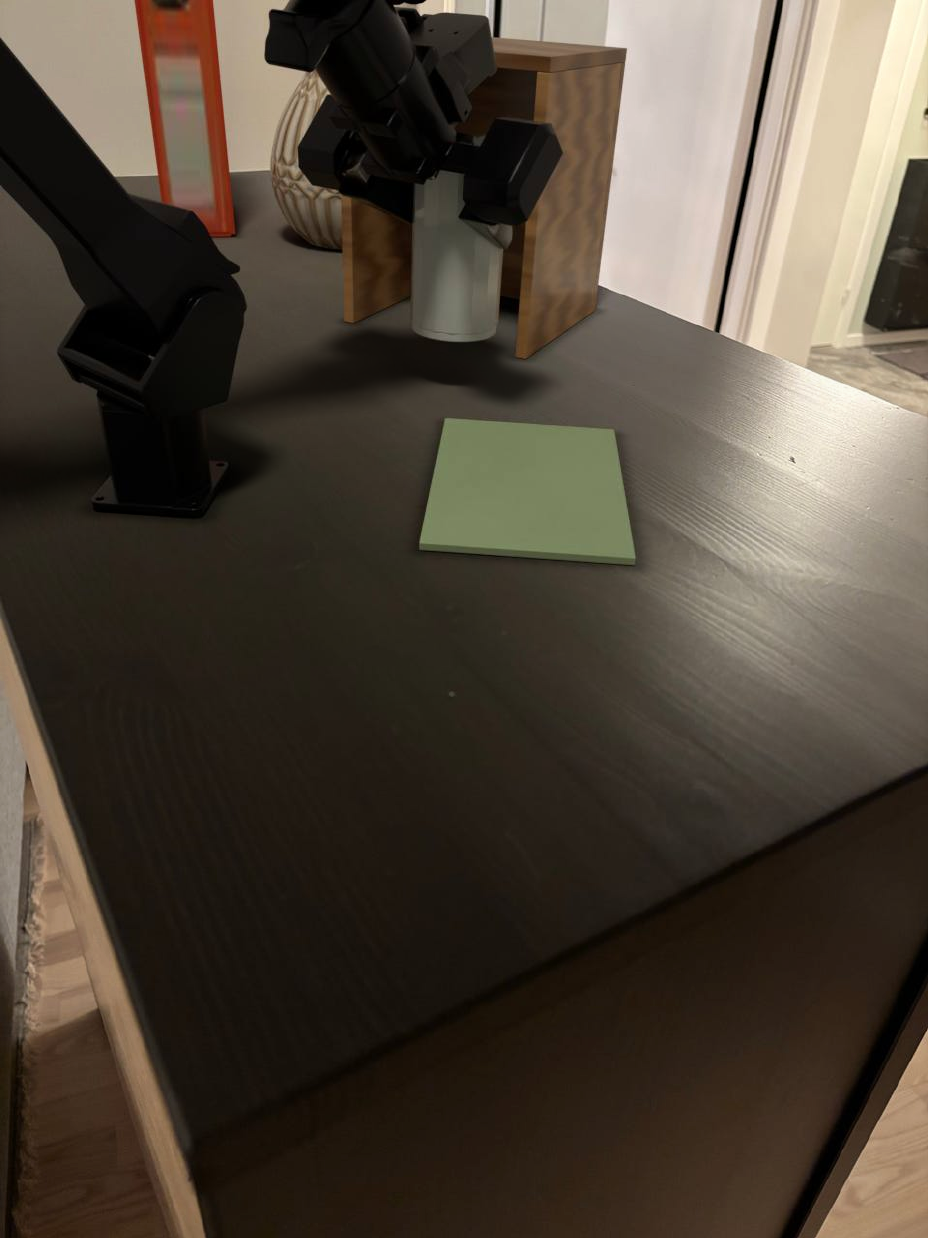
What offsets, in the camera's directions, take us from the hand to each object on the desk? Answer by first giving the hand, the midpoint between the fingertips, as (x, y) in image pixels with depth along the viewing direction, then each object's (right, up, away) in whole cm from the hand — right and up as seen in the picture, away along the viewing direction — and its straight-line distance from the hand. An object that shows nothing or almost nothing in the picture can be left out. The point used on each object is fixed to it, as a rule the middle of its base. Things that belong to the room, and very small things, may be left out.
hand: (469, 235), depth 71 cm
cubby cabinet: (0, 0, +19) cm, 18 cm away
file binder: (-33, +20, +46) cm, 60 cm away
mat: (+4, -20, -10) cm, 23 cm away
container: (-1, -6, +3) cm, 7 cm away
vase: (-14, +16, +41) cm, 46 cm away
